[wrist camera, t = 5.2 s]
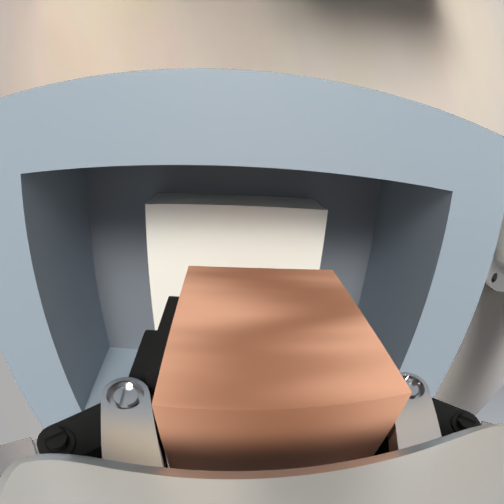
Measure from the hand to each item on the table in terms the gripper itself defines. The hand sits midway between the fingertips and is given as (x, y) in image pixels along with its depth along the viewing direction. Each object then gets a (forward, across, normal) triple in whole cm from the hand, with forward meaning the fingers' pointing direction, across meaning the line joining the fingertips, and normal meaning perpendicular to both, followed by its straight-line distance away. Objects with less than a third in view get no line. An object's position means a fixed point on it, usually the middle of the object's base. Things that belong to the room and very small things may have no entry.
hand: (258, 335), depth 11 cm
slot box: (+7, +1, 0) cm, 7 cm away
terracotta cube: (0, 0, 0) cm, 0 cm away
